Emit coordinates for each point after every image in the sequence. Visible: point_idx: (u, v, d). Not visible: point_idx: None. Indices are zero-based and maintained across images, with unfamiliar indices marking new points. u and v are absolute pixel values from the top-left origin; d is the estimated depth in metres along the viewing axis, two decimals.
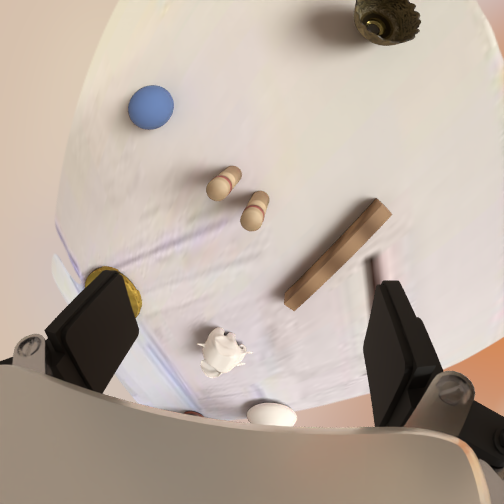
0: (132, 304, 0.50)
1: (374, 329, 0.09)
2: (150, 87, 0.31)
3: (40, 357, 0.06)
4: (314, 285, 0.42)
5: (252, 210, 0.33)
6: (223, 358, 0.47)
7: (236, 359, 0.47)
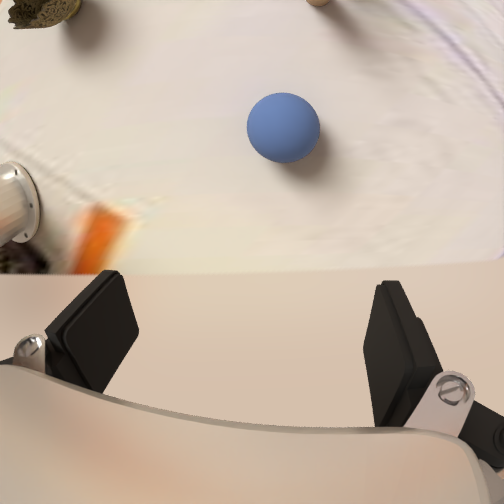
0: None
1: (374, 329, 0.09)
2: (250, 137, 0.23)
3: (40, 357, 0.06)
4: None
5: None
6: None
7: None
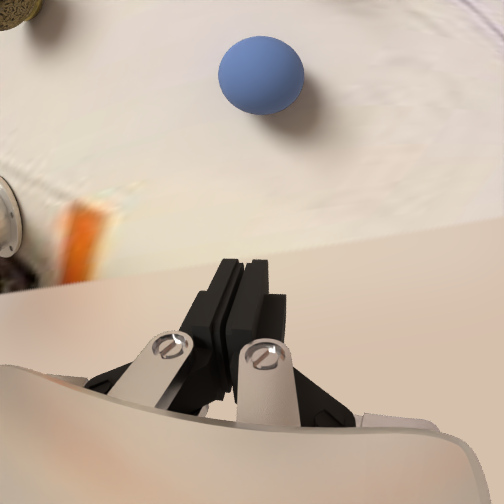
0: None
1: None
2: (223, 88, 0.18)
3: (172, 369, 0.06)
4: None
5: None
6: None
7: None
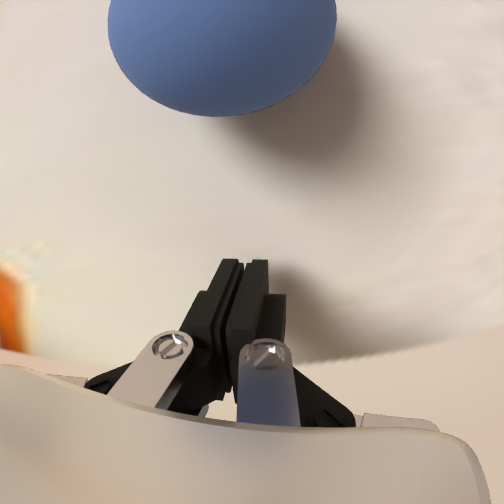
0: None
1: None
2: (115, 57, 0.06)
3: (172, 369, 0.06)
4: None
5: None
6: None
7: None
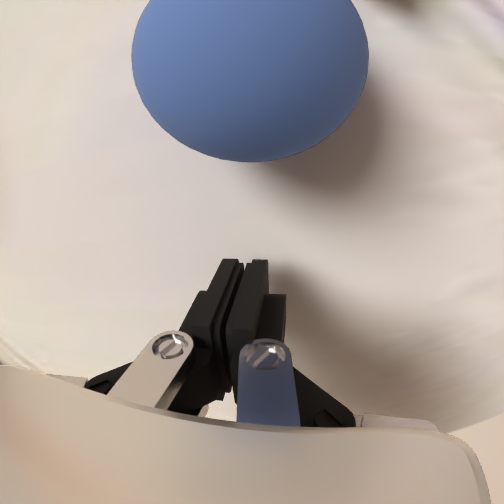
0: None
1: None
2: None
3: (172, 369, 0.06)
4: None
5: None
6: None
7: None
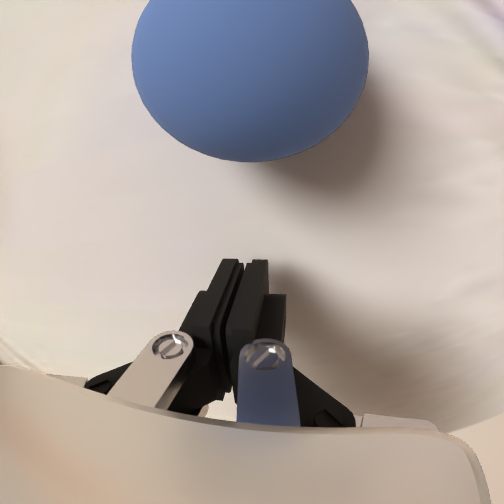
0: None
1: None
2: None
3: (172, 369, 0.06)
4: None
5: None
6: None
7: None
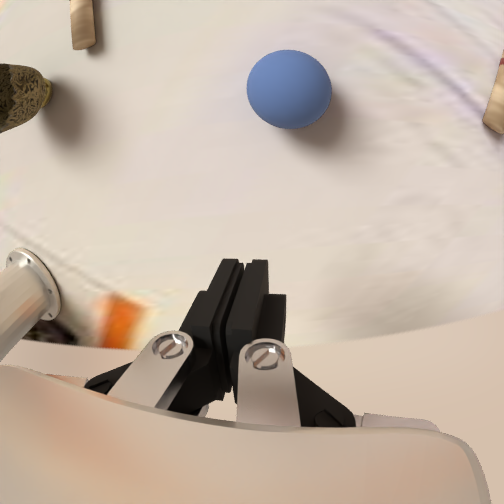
0: None
1: None
2: None
3: (172, 369, 0.06)
4: None
5: None
6: None
7: None
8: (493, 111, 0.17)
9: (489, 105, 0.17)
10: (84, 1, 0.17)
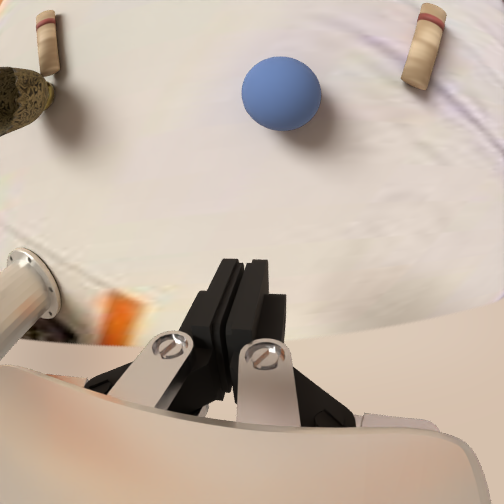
0: None
1: None
2: None
3: (172, 369, 0.06)
4: None
5: (53, 12, 0.19)
6: None
7: None
8: (409, 67, 0.18)
9: (406, 62, 0.19)
10: None
